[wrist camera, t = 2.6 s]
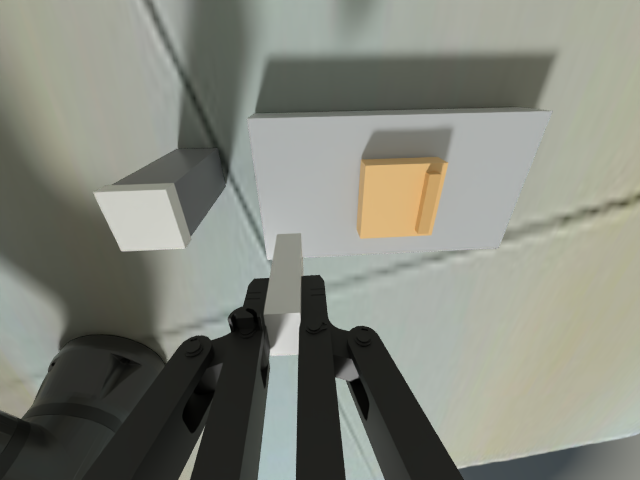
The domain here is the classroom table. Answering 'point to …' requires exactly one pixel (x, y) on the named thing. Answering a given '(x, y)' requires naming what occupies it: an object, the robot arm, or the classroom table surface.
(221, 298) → the classroom table surface
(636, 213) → the classroom table surface
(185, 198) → the plug
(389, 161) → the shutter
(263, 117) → the socket board
